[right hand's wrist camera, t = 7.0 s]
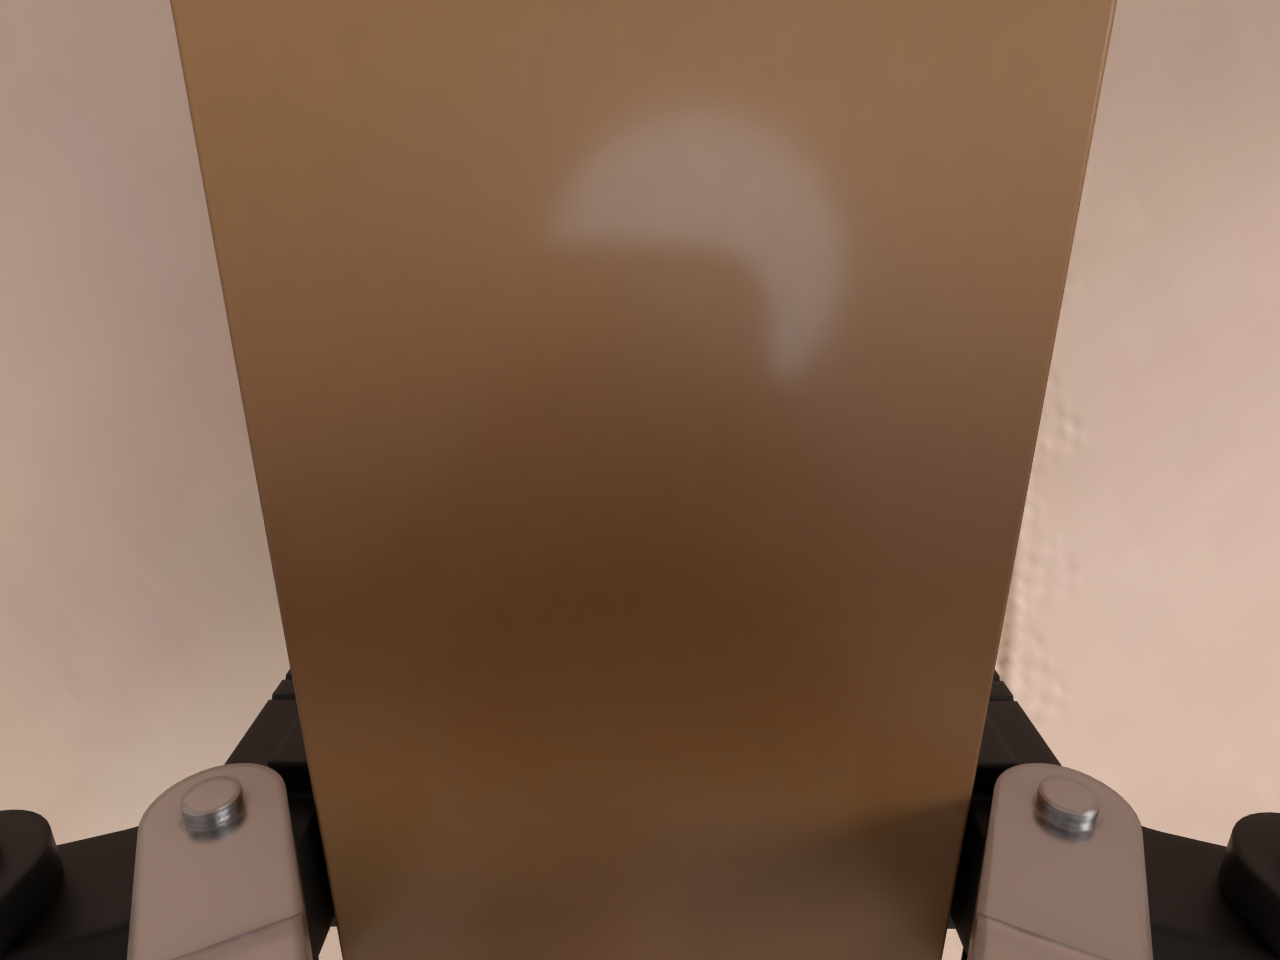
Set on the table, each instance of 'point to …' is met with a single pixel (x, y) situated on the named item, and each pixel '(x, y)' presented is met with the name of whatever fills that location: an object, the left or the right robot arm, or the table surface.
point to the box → (642, 443)
